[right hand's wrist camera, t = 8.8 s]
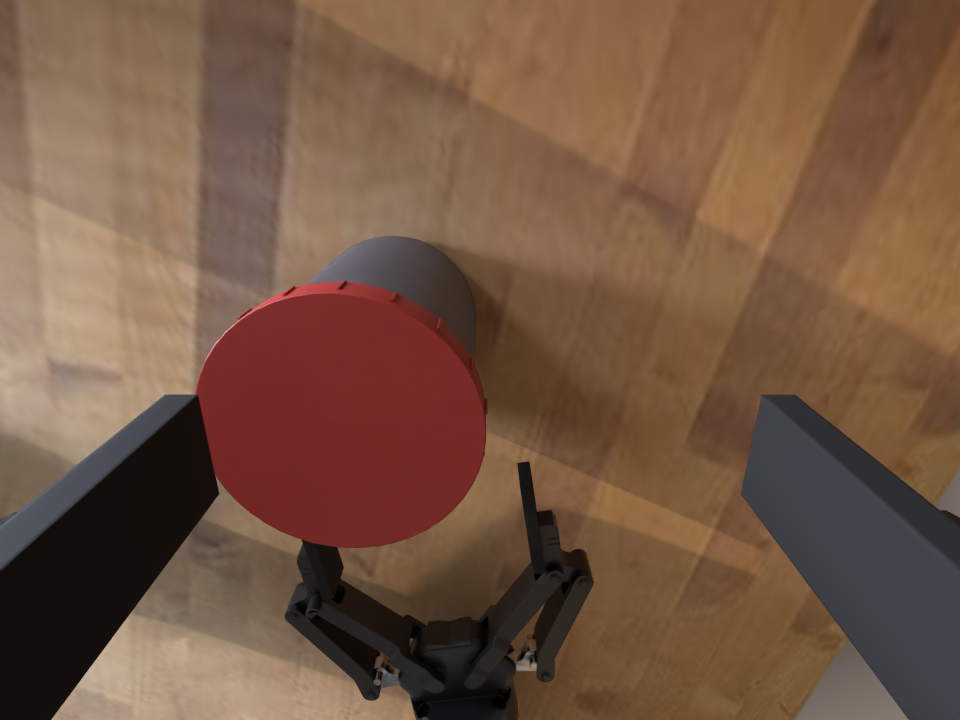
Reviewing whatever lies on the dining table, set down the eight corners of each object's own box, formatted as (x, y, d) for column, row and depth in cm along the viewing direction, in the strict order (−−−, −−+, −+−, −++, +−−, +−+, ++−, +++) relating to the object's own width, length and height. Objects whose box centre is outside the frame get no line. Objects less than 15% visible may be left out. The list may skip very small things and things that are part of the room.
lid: (531, 463, 24) (535, 485, 22) (311, 557, 26) (300, 583, 24) (401, 227, 20) (395, 235, 18) (154, 359, 22) (129, 376, 20)
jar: (502, 348, 36) (515, 475, 23) (370, 410, 38) (308, 563, 24) (427, 206, 33) (389, 255, 19) (285, 281, 35) (158, 376, 21)
